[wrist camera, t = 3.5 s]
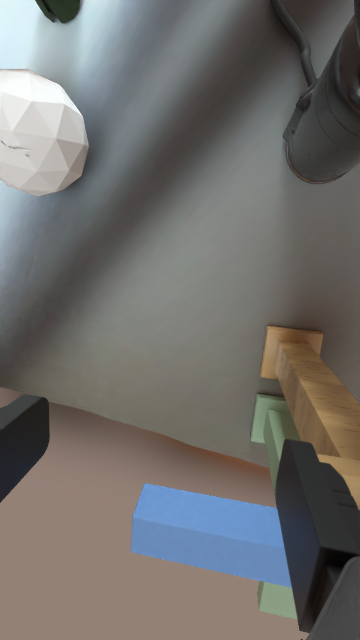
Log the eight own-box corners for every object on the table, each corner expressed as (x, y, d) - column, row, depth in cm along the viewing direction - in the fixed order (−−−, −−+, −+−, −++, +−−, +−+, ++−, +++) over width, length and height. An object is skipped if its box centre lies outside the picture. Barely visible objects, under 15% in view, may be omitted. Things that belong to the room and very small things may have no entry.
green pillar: (244, 435, 51) (258, 611, 26) (250, 392, 50) (272, 538, 24) (305, 444, 50) (381, 639, 25) (313, 401, 48) (405, 565, 23)
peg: (141, 538, 19) (121, 603, 15) (145, 456, 17) (125, 507, 14) (469, 608, 16) (533, 704, 13) (506, 519, 15) (589, 601, 12)
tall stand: (253, 372, 49) (295, 584, 18) (260, 324, 47) (320, 470, 16) (317, 381, 47) (483, 626, 17) (327, 332, 45) (535, 507, 15)
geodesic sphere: (130, 144, 38) (15, 39, 27) (71, 236, 42) (-51, 177, 31) (89, 114, 47) (-12, 24, 35) (43, 192, 51) (-60, 134, 39)
